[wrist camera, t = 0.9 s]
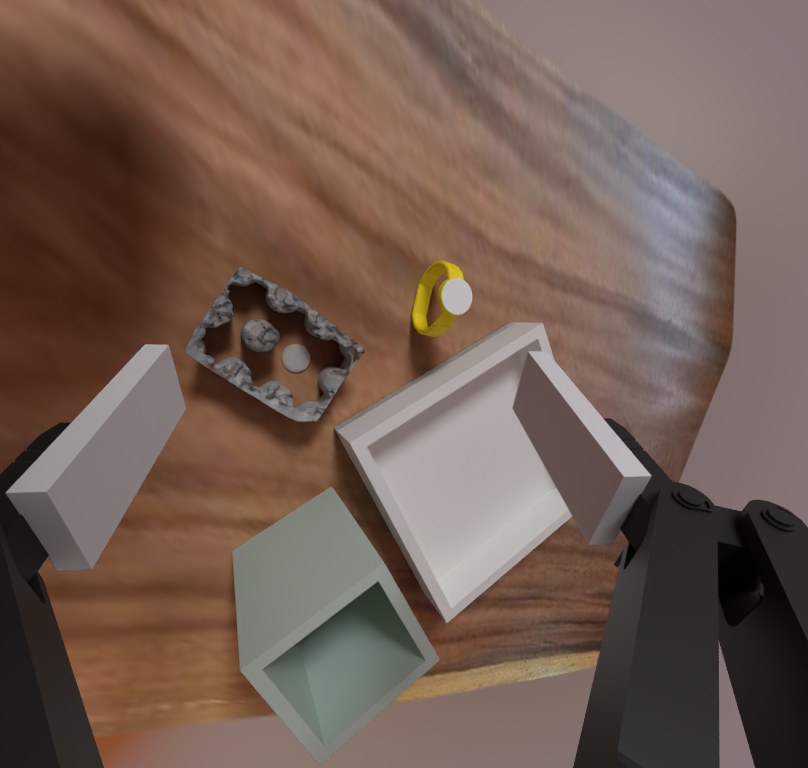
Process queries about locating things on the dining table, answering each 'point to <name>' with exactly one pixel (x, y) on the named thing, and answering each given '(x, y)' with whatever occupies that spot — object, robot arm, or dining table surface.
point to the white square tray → (459, 469)
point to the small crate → (324, 625)
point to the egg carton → (264, 339)
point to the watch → (441, 298)
